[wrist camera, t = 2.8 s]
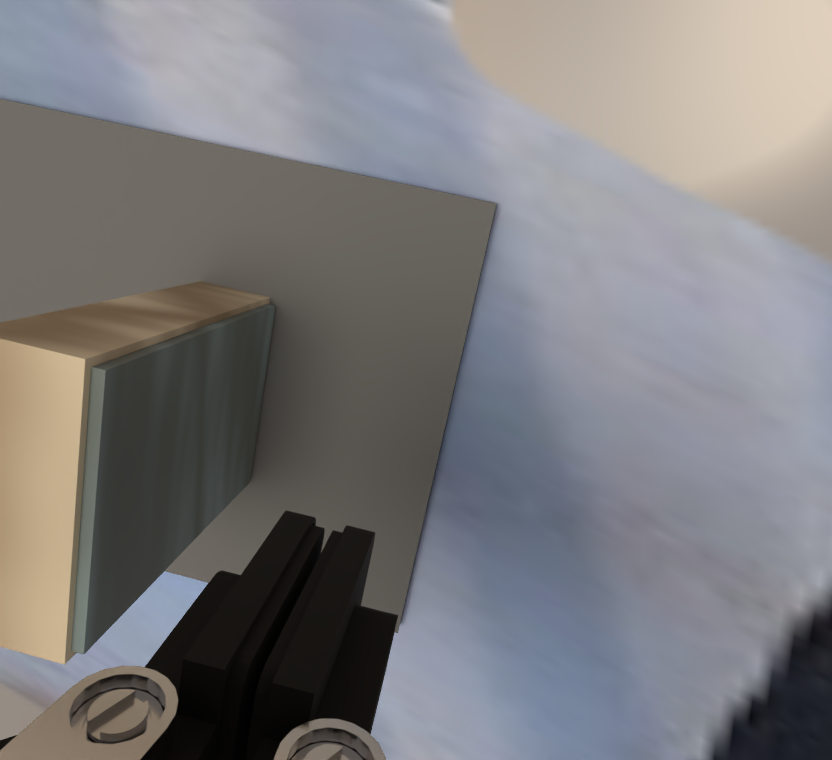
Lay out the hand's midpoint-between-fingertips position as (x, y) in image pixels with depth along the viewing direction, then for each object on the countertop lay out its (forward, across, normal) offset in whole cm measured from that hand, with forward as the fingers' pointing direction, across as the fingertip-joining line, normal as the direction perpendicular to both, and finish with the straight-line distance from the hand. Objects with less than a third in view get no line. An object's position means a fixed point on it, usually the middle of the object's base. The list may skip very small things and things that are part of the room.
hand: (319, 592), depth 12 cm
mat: (+12, +10, +1) cm, 16 cm away
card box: (+11, +6, +1) cm, 13 cm away
